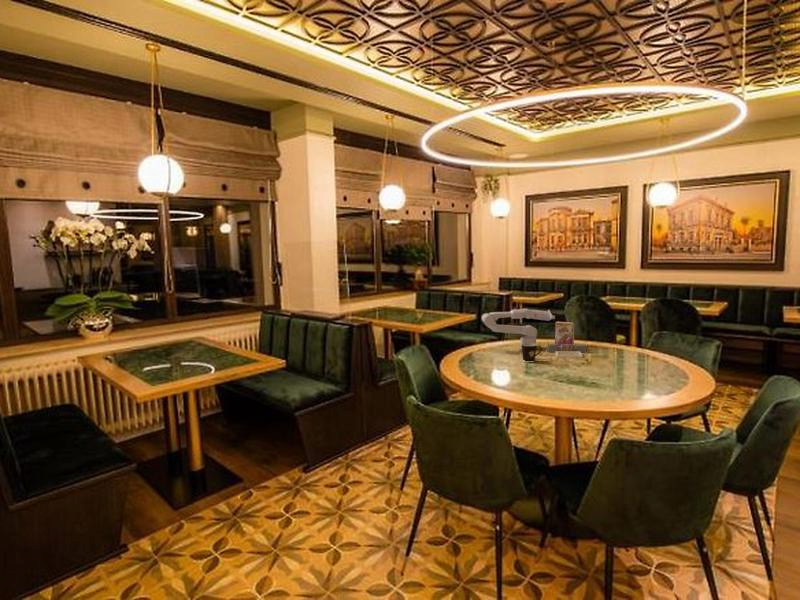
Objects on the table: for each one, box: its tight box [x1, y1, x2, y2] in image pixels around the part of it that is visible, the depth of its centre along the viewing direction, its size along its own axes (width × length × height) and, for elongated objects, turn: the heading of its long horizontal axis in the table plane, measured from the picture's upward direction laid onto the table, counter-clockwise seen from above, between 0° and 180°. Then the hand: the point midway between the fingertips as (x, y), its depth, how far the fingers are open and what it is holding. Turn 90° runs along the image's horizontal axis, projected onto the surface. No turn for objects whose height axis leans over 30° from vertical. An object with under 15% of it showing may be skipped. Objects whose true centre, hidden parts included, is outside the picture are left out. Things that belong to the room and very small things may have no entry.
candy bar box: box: [554, 321, 575, 347], centre depth 303 cm, size 11×5×16 cm, turn 58°
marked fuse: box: [560, 344, 572, 351], centre depth 286 cm, size 6×4×5 cm
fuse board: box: [545, 346, 590, 354], centre depth 286 cm, size 25×6×4 cm, turn 77°
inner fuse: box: [547, 343, 560, 354], centre depth 288 cm, size 6×4×4 cm, turn 77°
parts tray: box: [555, 351, 584, 359], centre depth 277 cm, size 14×10×2 cm
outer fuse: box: [574, 343, 587, 354], centre depth 284 cm, size 6×4×4 cm, turn 77°
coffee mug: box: [521, 343, 543, 361], centre depth 270 cm, size 12×9×10 cm
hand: (561, 317), depth 297 cm, fingers open, 7 cm apart
